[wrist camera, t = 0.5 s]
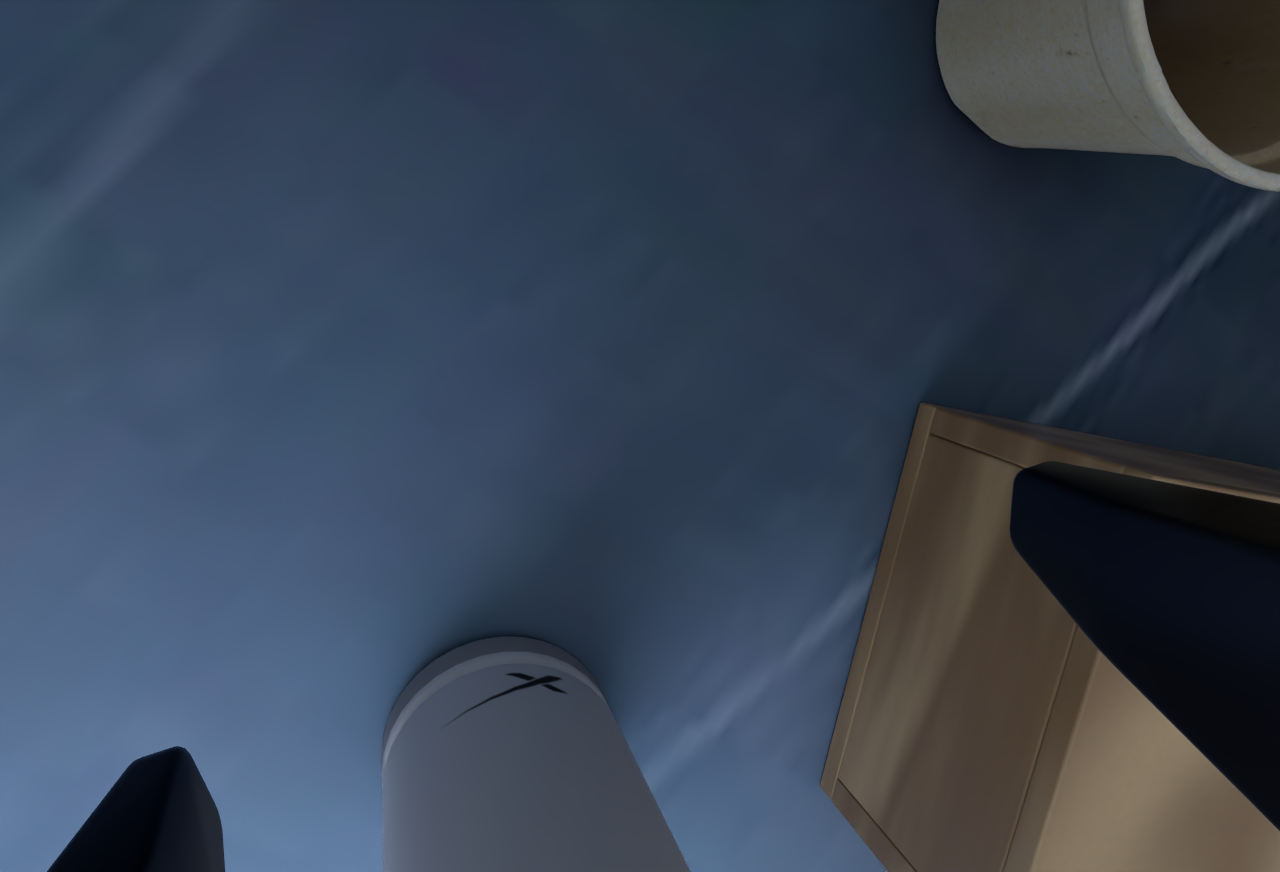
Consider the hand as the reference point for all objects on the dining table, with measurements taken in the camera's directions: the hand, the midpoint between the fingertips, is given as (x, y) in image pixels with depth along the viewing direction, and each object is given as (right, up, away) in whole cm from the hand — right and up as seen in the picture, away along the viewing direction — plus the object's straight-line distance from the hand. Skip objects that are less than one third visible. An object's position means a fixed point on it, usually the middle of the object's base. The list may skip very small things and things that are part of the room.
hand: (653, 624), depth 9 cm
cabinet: (+14, -4, +21) cm, 25 cm away
